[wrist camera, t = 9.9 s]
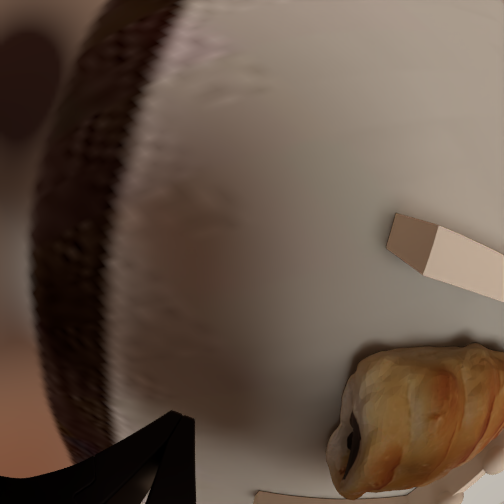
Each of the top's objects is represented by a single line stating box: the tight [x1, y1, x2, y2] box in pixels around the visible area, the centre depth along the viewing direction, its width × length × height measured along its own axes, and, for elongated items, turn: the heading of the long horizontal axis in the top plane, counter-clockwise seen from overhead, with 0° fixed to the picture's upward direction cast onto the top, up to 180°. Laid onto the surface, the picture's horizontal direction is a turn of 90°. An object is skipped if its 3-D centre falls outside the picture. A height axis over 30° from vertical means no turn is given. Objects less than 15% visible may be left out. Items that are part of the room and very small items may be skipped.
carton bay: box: [253, 213, 504, 504], centre depth 6 cm, size 16×11×3 cm
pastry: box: [326, 343, 504, 501], centre depth 6 cm, size 9×7×4 cm
